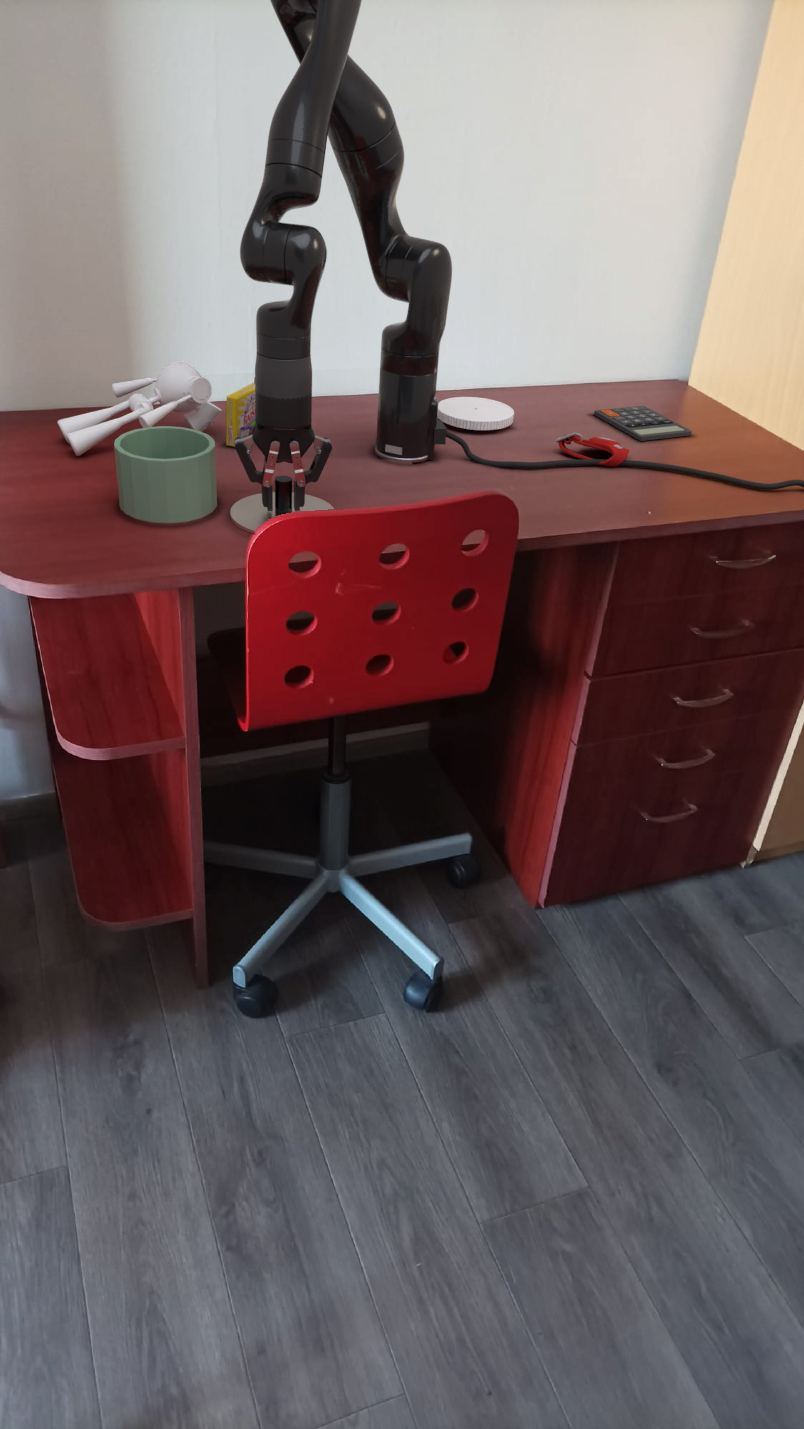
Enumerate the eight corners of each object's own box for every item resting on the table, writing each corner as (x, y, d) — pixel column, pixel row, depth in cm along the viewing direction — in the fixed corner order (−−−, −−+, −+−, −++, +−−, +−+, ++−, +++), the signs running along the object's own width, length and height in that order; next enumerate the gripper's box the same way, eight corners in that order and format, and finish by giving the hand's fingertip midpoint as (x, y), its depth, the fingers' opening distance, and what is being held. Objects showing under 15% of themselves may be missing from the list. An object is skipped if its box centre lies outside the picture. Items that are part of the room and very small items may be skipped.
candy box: (236, 448, 170) (235, 398, 166) (225, 446, 171) (223, 396, 166) (282, 421, 183) (282, 373, 178) (271, 418, 184) (271, 371, 179)
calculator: (643, 404, 201) (692, 430, 190) (643, 409, 202) (691, 435, 191) (594, 409, 197) (641, 435, 186) (593, 414, 197) (640, 441, 186)
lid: (329, 498, 156) (330, 459, 152) (342, 541, 144) (343, 499, 140) (228, 499, 153) (227, 459, 150) (232, 543, 141) (231, 500, 137)
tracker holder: (613, 439, 183) (644, 445, 174) (606, 465, 184) (637, 472, 175) (554, 426, 178) (583, 432, 169) (547, 453, 179) (577, 459, 170)
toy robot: (104, 505, 163) (245, 440, 169) (69, 435, 155) (219, 369, 160) (75, 464, 177) (207, 405, 182) (42, 397, 168) (181, 337, 174)
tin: (215, 488, 156) (213, 426, 151) (218, 526, 145) (216, 460, 140) (122, 488, 154) (116, 425, 148) (118, 527, 143) (111, 461, 137)
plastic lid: (525, 422, 191) (527, 408, 190) (489, 441, 181) (491, 427, 180) (459, 405, 197) (461, 391, 196) (421, 423, 187) (422, 409, 186)
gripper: (230, 395, 133) (234, 520, 143) (339, 396, 136) (336, 519, 146) (228, 378, 139) (232, 499, 149) (333, 379, 142) (329, 498, 152)
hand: (283, 508), depth 147 cm, fingers open, 3 cm apart
